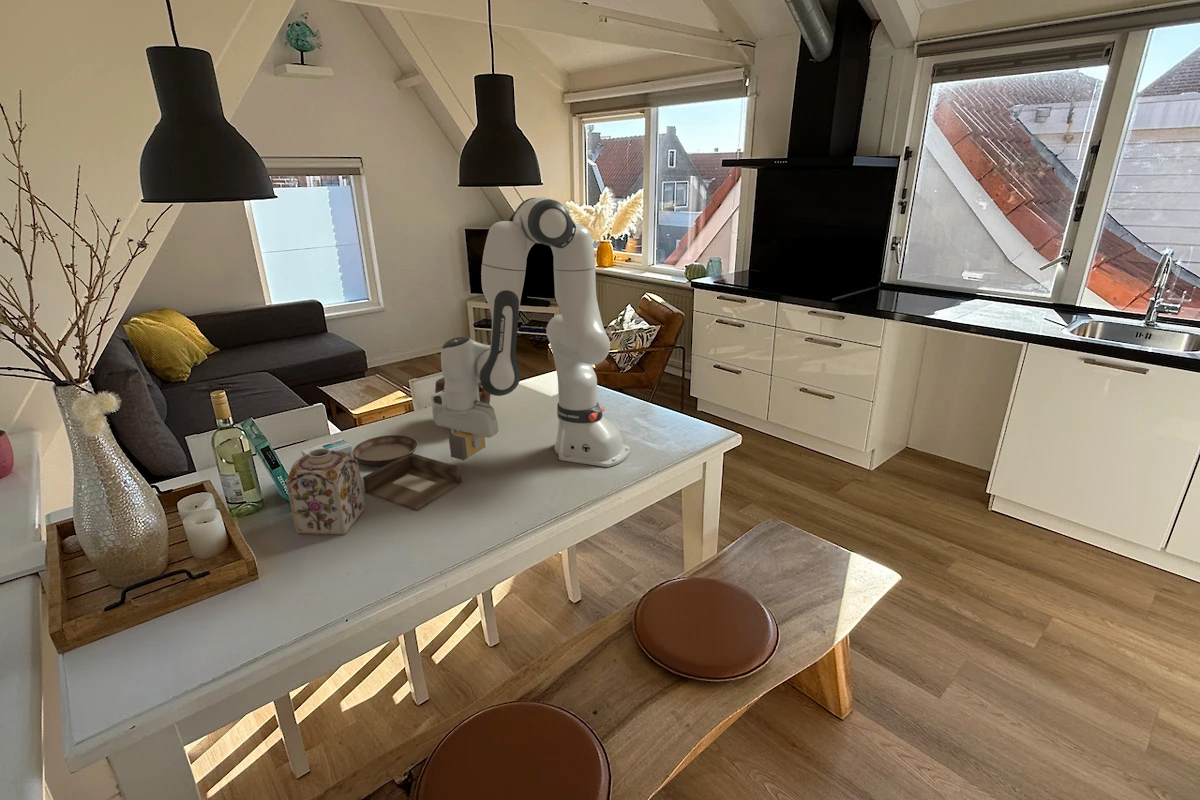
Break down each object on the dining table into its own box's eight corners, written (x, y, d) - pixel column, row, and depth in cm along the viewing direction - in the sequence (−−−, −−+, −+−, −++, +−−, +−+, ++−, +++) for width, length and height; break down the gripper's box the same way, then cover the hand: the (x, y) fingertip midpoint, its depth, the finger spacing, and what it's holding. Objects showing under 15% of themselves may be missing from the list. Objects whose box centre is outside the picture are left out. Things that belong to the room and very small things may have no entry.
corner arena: (461, 482, 158) (460, 467, 156) (417, 510, 145) (415, 494, 143) (412, 467, 166) (410, 452, 165) (365, 492, 153) (362, 477, 152)
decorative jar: (294, 534, 136) (279, 463, 129) (319, 507, 147) (306, 440, 140) (346, 536, 135) (333, 464, 129) (367, 508, 146) (357, 441, 140)
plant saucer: (386, 439, 185) (385, 430, 183) (431, 450, 177) (430, 440, 176) (340, 462, 170) (338, 452, 169) (387, 475, 162) (386, 465, 161)
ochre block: (485, 447, 168) (483, 427, 166) (463, 460, 161) (461, 440, 159) (473, 444, 170) (471, 424, 168) (451, 456, 163) (448, 436, 161)
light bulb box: (348, 473, 163) (341, 437, 159) (358, 481, 159) (352, 444, 155) (307, 486, 156) (300, 449, 152) (317, 496, 152) (310, 457, 148)
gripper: (500, 400, 158) (505, 447, 163) (442, 388, 167) (448, 433, 172) (485, 408, 152) (490, 457, 158) (426, 395, 162) (432, 442, 167)
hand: (467, 444), depth 165 cm, fingers closed on ochre block, 4 cm apart
